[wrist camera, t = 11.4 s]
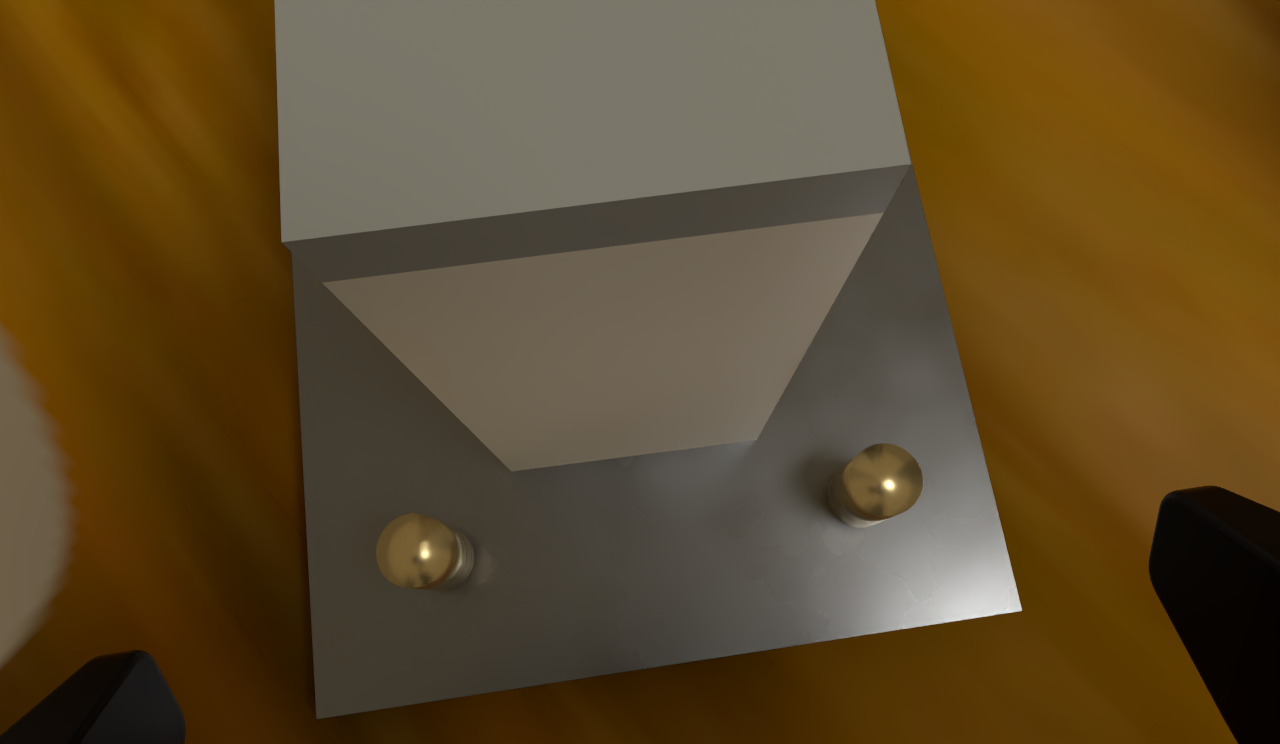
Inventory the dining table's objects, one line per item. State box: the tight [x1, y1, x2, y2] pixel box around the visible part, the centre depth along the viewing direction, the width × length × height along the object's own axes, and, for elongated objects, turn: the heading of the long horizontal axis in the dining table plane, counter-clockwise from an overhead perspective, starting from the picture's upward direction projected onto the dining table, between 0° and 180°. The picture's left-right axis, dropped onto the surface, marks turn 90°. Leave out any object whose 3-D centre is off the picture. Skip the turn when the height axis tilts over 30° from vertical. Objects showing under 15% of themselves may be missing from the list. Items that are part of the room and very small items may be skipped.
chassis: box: [292, 133, 1022, 719], centre depth 21 cm, size 15×15×4 cm
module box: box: [275, 0, 911, 471], centre depth 15 cm, size 6×6×13 cm
